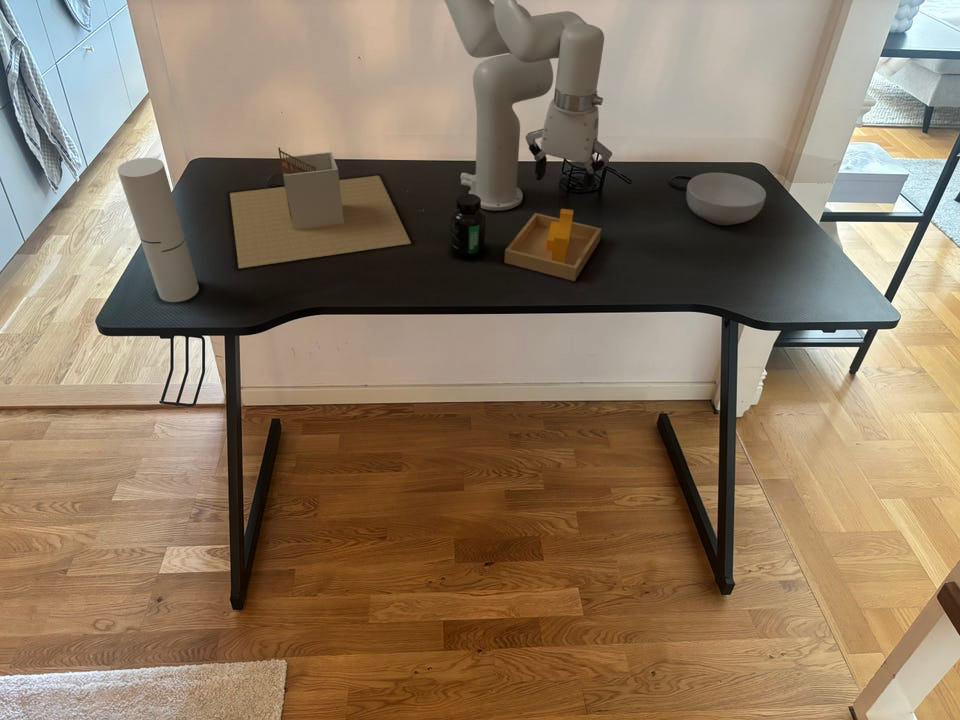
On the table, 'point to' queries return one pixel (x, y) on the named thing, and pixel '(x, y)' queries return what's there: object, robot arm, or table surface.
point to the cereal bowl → (724, 198)
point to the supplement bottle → (468, 227)
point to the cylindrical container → (159, 228)
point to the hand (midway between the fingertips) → (563, 183)
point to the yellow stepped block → (560, 236)
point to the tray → (534, 256)
